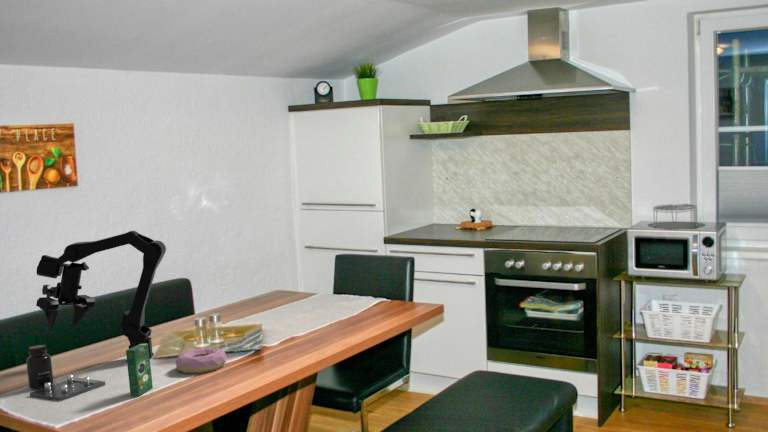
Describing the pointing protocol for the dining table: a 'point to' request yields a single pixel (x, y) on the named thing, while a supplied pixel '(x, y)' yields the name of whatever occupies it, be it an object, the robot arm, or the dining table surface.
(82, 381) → the chassis
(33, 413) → the dining table surface
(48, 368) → the supplement bottle
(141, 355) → the coffee box
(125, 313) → the robot arm
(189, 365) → the donut
